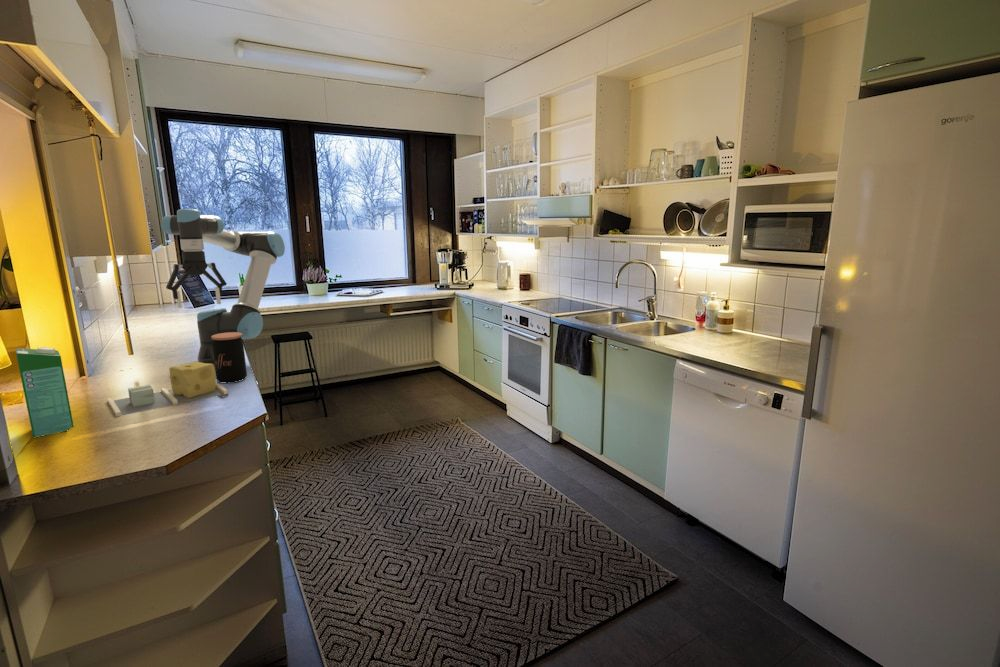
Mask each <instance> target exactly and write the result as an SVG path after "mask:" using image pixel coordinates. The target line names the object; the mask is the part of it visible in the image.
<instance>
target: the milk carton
mask: <svg viewBox="0 0 1000 667" xmlns="http://www.w3.org/2000/svg"><path fill="white" fill-rule="evenodd" d="M14 349H15V355H16V359H17V360H16V361H17V364H18V369H19V375H20V380H21V383H22V384H21V385H22V389H23V394H24V399H25V405H26V408H27V413H28V418H29V424H30V428H31V435H32V438H33V437H38V436H42V435H47V436H49V435H48V434H52V435H54V434H53V433H57V434H59V433H58V432H61V433H64V432H63V431H66V432H68V431H67V430H69V428H75V425H74V421H73V415H72V409H71V404H70V399H69V395H68V393H69V392H68V387H67V383H66V382H67V381H66V378H65V372H64V367H63V362H62V361H63V360H62V356H61V354H60V352H59V350H56V348H53V347H46V346H44V347H43V346H40V347H39V346H38V347H37V348H36V349H35V348H20V347H18V348H17V347H16V348H14ZM69 431H70V430H69ZM38 438H39V437H38Z"/></svg>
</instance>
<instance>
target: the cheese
mask: <svg viewBox="0 0 1000 667" xmlns="http://www.w3.org/2000/svg"><path fill="white" fill-rule="evenodd" d="M169 377H170V384H171V390H172V391H173V394H176V395H184V397H187V398H192V397H195V396H198V395H201V394H205V393H208V392H212V391H215V386H216V382H217V379H216V372H215V364H208V363H201V362H198V361H192V362H188V363H185V364H180V365H176V366H171V367H169Z"/></svg>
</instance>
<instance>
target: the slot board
mask: <svg viewBox="0 0 1000 667" xmlns="http://www.w3.org/2000/svg"><path fill="white" fill-rule="evenodd" d="M223 396H226V397H228V396H229V392H228V389H227V388H226V387H224V386H223V385H221V384H220V383H218V382H217V381H216V386H215V391H212V392H208V393H205V394H201V395H198V396H195V397H192V398H187V397H184V395H176V394H173V391H172V389H167V388H166V387H161V388H160V391H157V392H154V399H155V403H151V404H146V405H141V406H136V407H133V406H132V404H131V403H130V398H129V397H124V398H120V399H113V397H107V398H106V400H107V402H108V404H109V406H110V408H111V410H112V412H113V413H114V415H115V416H116V417H120V416H126V415H130V414H136V413H141V412H144V411H145V412H146V411H149V410H150V411H151V410H155V409H159V408H164V407H168V406H175V405H178V404H179V405H180V404H183V403H184V404H185V403H189V402H193V401H198V400H203V399H208V398H212V397H213V398H214V397H217V398H219V397H221V398H224V397H223Z"/></svg>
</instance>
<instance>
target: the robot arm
mask: <svg viewBox="0 0 1000 667" xmlns="http://www.w3.org/2000/svg"><path fill="white" fill-rule="evenodd" d="M160 223H161V224H160V226H161V229H162V231H163V232H164V233H166V235H173V236H175V235H177V236H179V241H180V249H181V259H182V264H179V263H178V264H176V263H175V264H173V271H172V272H171V275H170V277H169V280H168V282H167V284H166V286H165V288H166V289H167V290H170V291H172V298H173V299H174V300H176V304H177V308H179V309H182V308H183V306H182V299H181V291H180V290H178V289H179V288H180V287H181V285H182V284H183V283H184V282H185V281H186V279H187V278H188V277H189V276H202V275H204V276H205V277H206V278H207V279H208V280H209V281H210V282H212V284H214V285H215V286H216V287H214V290H215V291H214V292H215V299H216V304H217V305H221V304H222V301H221V296H223V287H226V286H227V284H228V283H227V282H226V281H225V278H224V277H223V276H222V275H221V273H220V272H219V270H218V269H217V266H216V263H215V262H213V261H212V262H209V263H207V262H206V261H207V260H206V255H205V251H203V250H204V249H205V246H204V245H205V244H204V243H207V244H211V245H215V246H218V247H222V248H223V249H224V250H226V251H228V252H231V253H234V254H236V255H237V254H238V255H242V256H246V257H250V259H251V260H250V261H249V262H250V263H249V265H248V268H247V271H246V272H247V273H246V275H245V278H244V282H243V285H242V287H241V290H240V293H239V296H238V300H237V302H236V303H234V304H233V305H232V306H231V310H230V311H228V310H227V308H226V307H225V308H224V307H221V308H214V309H208V310H203V311H202V310H201V311H200V312H198V313H197V315H196V317H197V319H196V320H197V321H196V323H197V328H198V337H199V344H200V346H199V350H198V355H197V362H201V363H208V364H213V365H215V364H214V356H213V347H212V342H213V339H212V338H211V336H212V335H215V334H220V333H228V332H239V333H242V337H241V338H242V339H243V340H247V339H248V340H249V339H255V338H257V337H258V336H259V335H260V334H261V332H262V330H263V327H264V319H263V316H262V315H261V311H260V310H259V306H260V303H261V299H262V296H263V293H264V289H265V287H266V282H267V279H268V276H269V273H270V270H271V267H272V265H274V264H275V263H277V259H278V258H280V257H283V256H284V254H285V249H286V246H285V245H286V244H285V242H284V239H283V237H282V236H281V234H279V232H276V231H270V230H268V231H236V230H231V229H230V230H225V223H224V221H223V219H222V218H221V217H219V216H218V215H213V214H208V215H207V214H201V213H200V210H199V209H196V208H195V209H192V208H191V209H190V208H185V209H184V208H182V209H178V210H176V215H175V214H172V215H164V216H163V217H162V219H161V222H160ZM207 268H209V269H210V270H212V272H213V274H214V275H215V276H216V277H217V279H216V278H214V277H213V276H212V275H211V274H210V273H209V272H208V271H207ZM181 269H183V270H184V272H183V273H182V275H181V276H180V278H178V280H177V281H175V280H176V278H177V276H178V274H179V271H181ZM175 282H176V283H175Z"/></svg>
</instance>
